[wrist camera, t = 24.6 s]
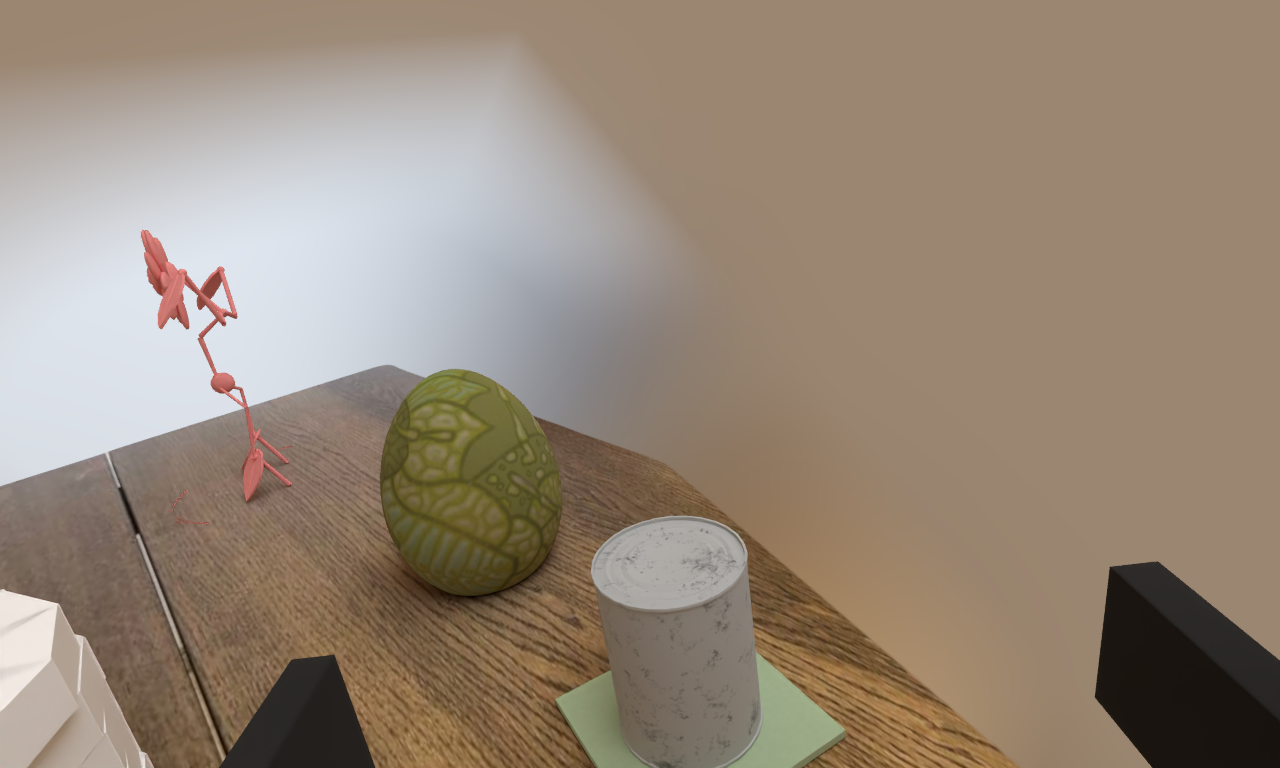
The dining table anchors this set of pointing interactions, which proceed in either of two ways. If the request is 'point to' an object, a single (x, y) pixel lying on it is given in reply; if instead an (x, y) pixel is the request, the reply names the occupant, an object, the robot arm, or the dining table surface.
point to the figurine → (171, 287)
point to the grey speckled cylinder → (680, 641)
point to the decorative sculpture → (469, 485)
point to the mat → (769, 764)
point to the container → (56, 695)
